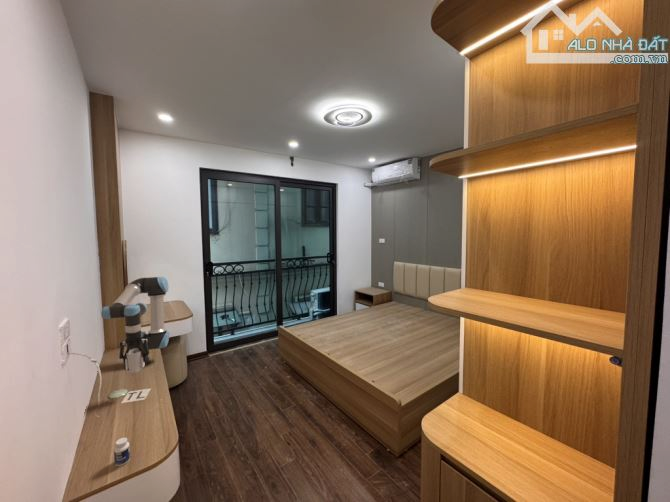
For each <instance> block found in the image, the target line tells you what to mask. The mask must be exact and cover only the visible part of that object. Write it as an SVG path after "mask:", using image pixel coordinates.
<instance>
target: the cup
mask: <svg viewBox="0 0 670 502" xmlns="http://www.w3.org/2000/svg"><path fill="white" fill-rule="evenodd" d="M126 355H127V360H128V366H129V369H128V373H130V374H133V373H134V374H135V373H138V372H141V371H142V369H143V368H142V362H141V357H142V354H141V351H139V349H138V348H135V349H131V350H129V353H128V354H127V353H126Z"/></svg>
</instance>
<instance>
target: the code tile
mask: <svg viewBox="0 0 670 502" xmlns="http://www.w3.org/2000/svg"><path fill="white" fill-rule="evenodd" d="M151 389H152V388H145V389H144V388H143V389H136V390H132V391H128V392H127V394H125V395H124V396H125V397H124V398H123V399H122V401H121V403H120V404H124V403H126V404H127V403H130V402H131V403H132V402H137V401H144V400H146V399H147V397H148V395H149V393H150V391H151Z"/></svg>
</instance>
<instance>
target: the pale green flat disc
mask: <svg viewBox="0 0 670 502" xmlns="http://www.w3.org/2000/svg"><path fill="white" fill-rule="evenodd" d="M128 392H129V391H128V389H126V388H120V389H117V390H114V391H112V392H110V393H109V394H108V398H109V399H112V400H113V399H118V398H122V397H123V396H126V395H127V393H128Z"/></svg>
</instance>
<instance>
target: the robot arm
mask: <svg viewBox="0 0 670 502" xmlns="http://www.w3.org/2000/svg"><path fill="white" fill-rule="evenodd" d="M168 292H169V282H168V280H167V278H166V277H165V276H164V277H163V276H154V277H153V276H152V277H140V278H137V279H135V280H132V281H130V282H128V284H127V285H126V286H125V287H124V291H123V292H122V293H121V294H120V295H119V296H118V297H117V298H116V300H115V301H114V302H113V303H112V304H111V305H110V306H109V305H108V306H104V307H102V309H101V312H100V314H101V315H100V316H101V318H102V319H104V320H111V319H123V318H124V327H125V329H124V330H125V331H124V332H125V340H122V341H121V342H119V345H120V347H119V348H120V349H119V357H118V358H119V359H120V360H121V359H122V361H123V365H124V368H125V370H126V371H129V366H128V360H127V355H126V353H127V354H128V353H129V350H131V349H135V348H138V349H139V351H141V354H142V357H141V362H142V369H143V368H144V367H145V366H147V365H148V364H149V363H150V357H149V354H150V350H159V349H165V348H166V347H167V346H168V344H169V340H170V331H167V329H166V327H165V308H164V307H165V305H164V304H165V302H164V301H165V300H164V297H165V296H166V294H167V293H168ZM140 294H147V297H148V298H149V306H150V307H149V308H150V309H149V310H150V312H149V314H150V329H149V331H148V333H147V332H146V331H142V323H141V318H142V316H143V315H145V314H146V312H147V311H148V305H147V304H146V303H144V302H137V303H136V304H131V303H132V301H133V300H134V298H135V297H136V296H138V295H140ZM125 346H126V350H125Z"/></svg>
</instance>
